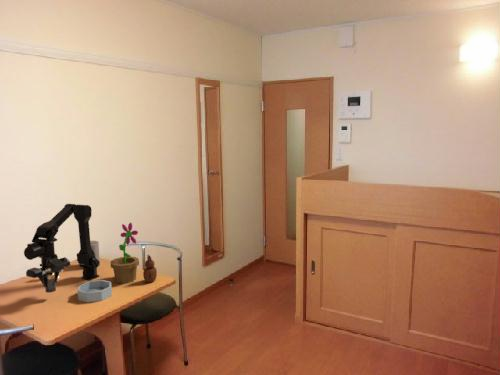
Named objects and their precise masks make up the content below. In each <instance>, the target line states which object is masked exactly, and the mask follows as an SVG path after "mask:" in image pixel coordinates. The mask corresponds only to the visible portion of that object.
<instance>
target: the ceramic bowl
mask: <svg viewBox="0 0 500 375" xmlns="http://www.w3.org/2000/svg"><path fill="white" fill-rule="evenodd" d="M112 286H113V285H112V282H111V281H110V280H104V279H99V280H88V281H87V282H85V283H82V284H79V285H78V288H77V300H78V301H80V302H83V303H95V302H102V301H104V300H106V299H107V298H110V297H112V296H113V295H112V294H113V290H112V288H113V287H112Z"/></svg>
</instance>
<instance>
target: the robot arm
mask: <svg viewBox="0 0 500 375" xmlns="http://www.w3.org/2000/svg"><path fill="white" fill-rule="evenodd" d="M72 215H73V218H74V219H75V220H76V221H77V224H78V225H77V226H78V236H79V248H80V250H79V251H78V252H77V253H76V262H77V263H78V265H79V267H80V268H82V267H83V268H82V276H81V279H83V280H86V281H87V280H88V281H93V280H94V279H97V278H99V277H100V274H98V267H99V266H100V265H99V264H100V263H101V262H100V260H99V261H98V260H97V259H96V258H95V253H94V251H93V250H92V249H91V244H90V241H91V235H90V234H91V233H90V224H89V222H90V220H91V217H92V206H90V205H88V204H76V203H66V204H65V205H64V207H63V208H61V209H60V210H59V211H58V212H57V213H56V214H55V216H53V217H52V218H51V219H50V220H48V221H45V222H43V223H42V224H40V225H39V226H37V228H36V231H35V233H34V236H33V238H32V239H31V243H27V244H26V246H27V247H25V248H24V250H23V255H24V257H25V259H27V260H29V261H30V260H34V259H36V258H38V259H40V262H41V263H39V266H40V268H39V267H32V268H29V269H27V270H25V276H26V277H27V278H28V277H29V278H33V279H35V278H38V280H40V283H41V284H42V285H43V287H44V288H45V287H47V279H46V277H47V275H48V274H46V272H45V271H46V270H53V271H54V272H55V282H56V283H57V281H58V279H59V278H58V275H59V276H60V273H61V271H62V270H63V271H64V269H65V268H67V267H68V266H70V265H71V261H70V259H68V258H67V257H65V256H64V257H61V258H59V256H58V254H57V253H55V250H56V249H55V242H57V241H58V239H57V238H56V237H55V236H56V235H57V234H58V233H59V229H60V227H61V226H62V225H63V224H64V223H65V222H66V221H67V220H68V219H69V218H70V217H71V216H72ZM57 256H58V257H57ZM57 278H58V279H57Z"/></svg>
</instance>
